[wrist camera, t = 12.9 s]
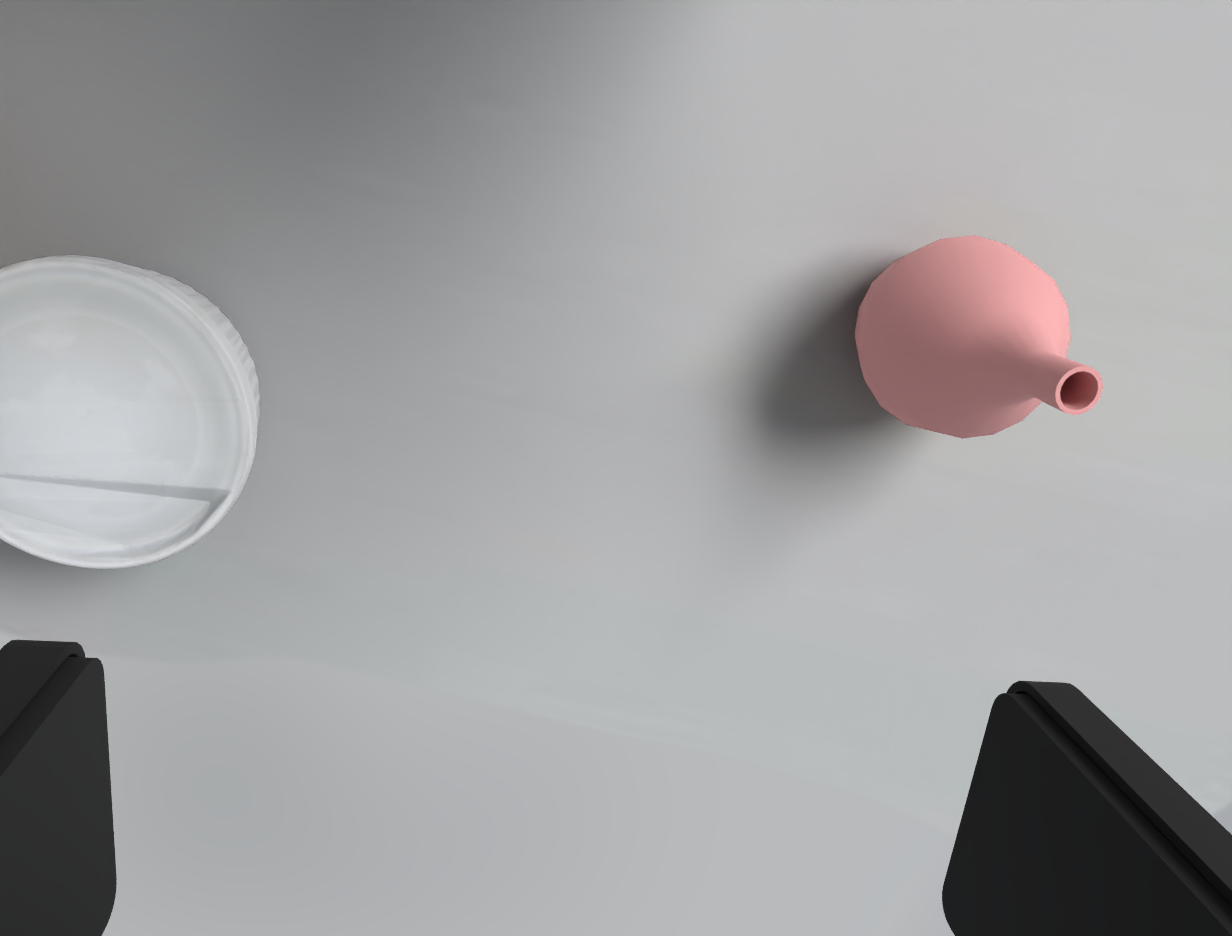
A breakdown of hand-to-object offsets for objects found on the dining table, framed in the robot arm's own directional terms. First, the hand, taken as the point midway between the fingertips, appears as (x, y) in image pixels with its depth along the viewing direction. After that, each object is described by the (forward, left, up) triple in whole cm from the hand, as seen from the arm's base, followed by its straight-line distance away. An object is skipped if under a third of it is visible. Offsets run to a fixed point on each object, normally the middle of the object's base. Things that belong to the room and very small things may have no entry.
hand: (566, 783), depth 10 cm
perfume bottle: (-1, +17, -31) cm, 35 cm away
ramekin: (+5, -15, -31) cm, 34 cm away
